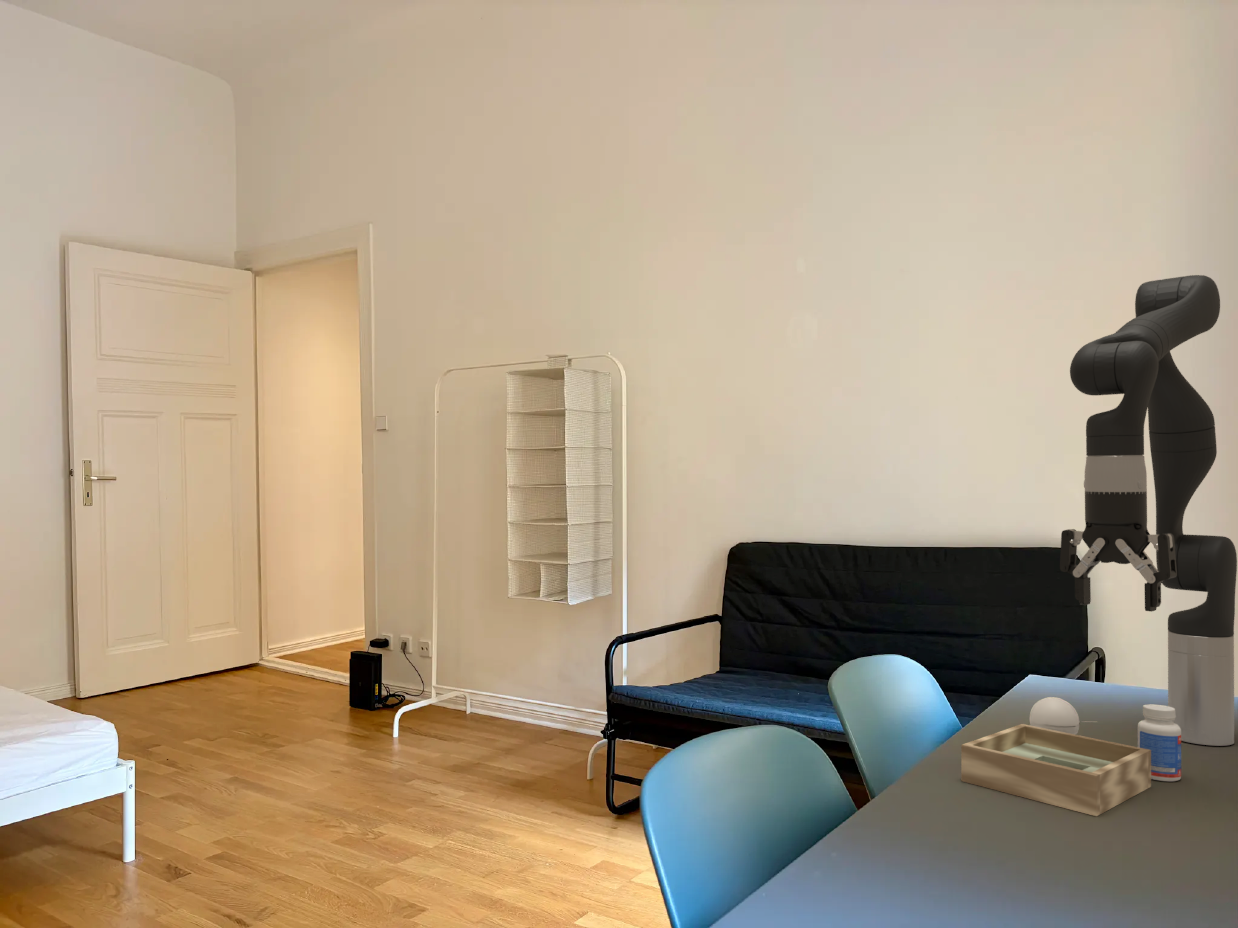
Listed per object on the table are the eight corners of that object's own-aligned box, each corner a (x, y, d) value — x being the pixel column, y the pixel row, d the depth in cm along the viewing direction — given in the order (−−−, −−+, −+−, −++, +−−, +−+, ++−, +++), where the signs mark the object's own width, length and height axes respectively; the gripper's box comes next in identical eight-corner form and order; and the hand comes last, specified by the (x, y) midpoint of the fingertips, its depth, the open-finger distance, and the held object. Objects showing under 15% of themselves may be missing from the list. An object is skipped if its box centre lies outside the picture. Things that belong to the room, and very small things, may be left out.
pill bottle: (1187, 783, 130) (1187, 712, 130) (1145, 780, 131) (1145, 710, 132) (1172, 771, 136) (1172, 703, 136) (1132, 769, 137) (1132, 701, 137)
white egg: (1029, 746, 148) (1029, 700, 148) (1028, 735, 155) (1028, 690, 155) (1101, 754, 144) (1101, 706, 144) (1096, 742, 151) (1096, 696, 151)
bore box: (1022, 756, 142) (1022, 723, 142) (1151, 786, 129) (1151, 749, 129) (961, 780, 130) (961, 744, 130) (1096, 816, 117) (1096, 775, 117)
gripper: (1182, 488, 126) (1184, 610, 126) (1073, 487, 136) (1075, 599, 136) (1162, 490, 121) (1163, 616, 121) (1050, 489, 131) (1052, 605, 131)
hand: (1116, 607), depth 128 cm, fingers open, 8 cm apart
